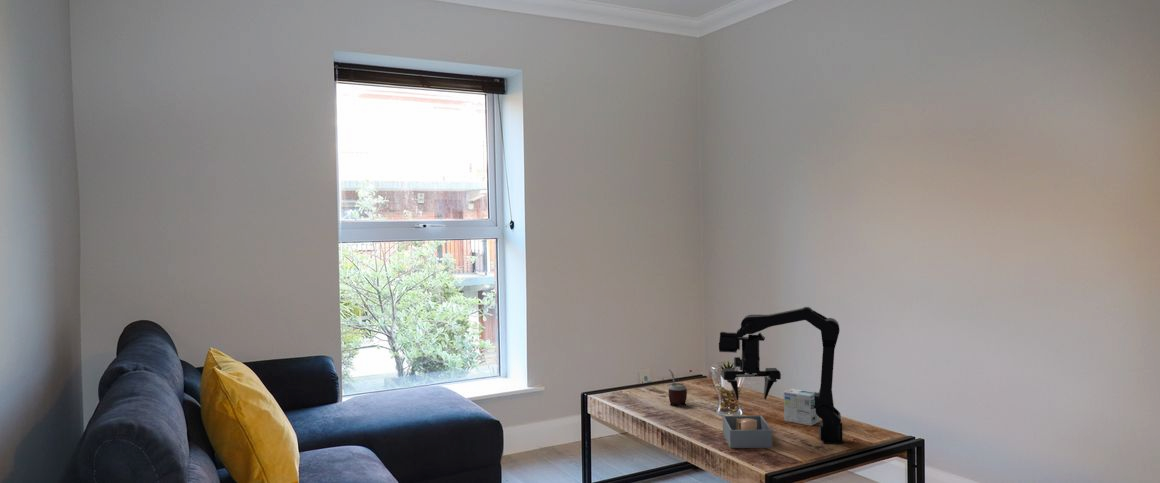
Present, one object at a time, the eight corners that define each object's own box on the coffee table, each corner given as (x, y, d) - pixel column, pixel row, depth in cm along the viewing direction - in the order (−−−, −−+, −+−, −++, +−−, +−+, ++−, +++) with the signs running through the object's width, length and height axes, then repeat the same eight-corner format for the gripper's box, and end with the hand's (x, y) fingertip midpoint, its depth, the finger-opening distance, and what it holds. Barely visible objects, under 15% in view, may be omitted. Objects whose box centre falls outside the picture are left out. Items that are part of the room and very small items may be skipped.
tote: (761, 431, 258) (761, 415, 258) (772, 447, 241) (772, 430, 241) (722, 432, 259) (722, 415, 259) (730, 447, 242) (730, 430, 242)
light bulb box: (820, 422, 269) (820, 391, 268) (811, 426, 264) (811, 395, 264) (792, 417, 276) (792, 387, 276) (783, 421, 271) (783, 391, 271)
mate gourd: (685, 402, 300) (684, 364, 299) (688, 407, 292) (688, 369, 292) (666, 403, 300) (665, 365, 299) (669, 408, 292) (668, 369, 291)
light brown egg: (758, 444, 243) (758, 422, 243) (742, 444, 243) (742, 422, 243) (755, 439, 248) (755, 418, 248) (740, 439, 248) (739, 418, 248)
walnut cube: (754, 437, 250) (754, 422, 250) (739, 437, 250) (738, 422, 250) (751, 433, 255) (751, 418, 255) (736, 433, 255) (736, 418, 255)
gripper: (773, 348, 261) (773, 393, 262) (718, 349, 262) (719, 394, 262) (781, 354, 250) (781, 401, 251) (724, 355, 251) (724, 402, 251)
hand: (751, 399), depth 254 cm, fingers open, 9 cm apart
